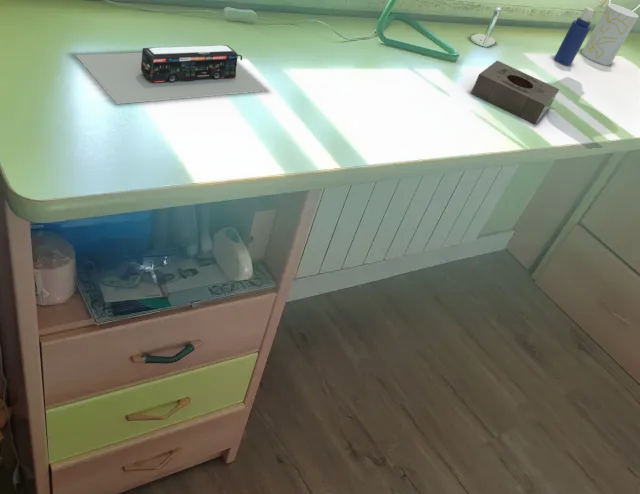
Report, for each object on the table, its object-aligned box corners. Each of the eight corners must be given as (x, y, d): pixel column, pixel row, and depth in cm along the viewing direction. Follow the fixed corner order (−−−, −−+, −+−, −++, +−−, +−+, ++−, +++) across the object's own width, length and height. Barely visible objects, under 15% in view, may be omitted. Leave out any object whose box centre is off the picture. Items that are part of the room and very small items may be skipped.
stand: (467, 39, 143) (480, 34, 149) (485, 48, 142) (497, 42, 147) (481, 5, 138) (493, 1, 144) (500, 14, 137) (512, 10, 142)
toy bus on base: (265, 91, 98) (270, 65, 95) (117, 103, 84) (117, 74, 81) (220, 49, 105) (223, 24, 102) (75, 55, 91) (74, 26, 88)
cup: (577, 52, 159) (602, 4, 150) (588, 49, 164) (614, 2, 156) (604, 66, 156) (632, 18, 148) (615, 62, 161) (642, 16, 153)
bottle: (572, 63, 151) (600, 11, 142) (568, 67, 148) (597, 14, 139) (556, 55, 152) (583, 3, 143) (552, 59, 149) (579, 6, 140)
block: (549, 107, 125) (559, 89, 122) (535, 124, 117) (545, 105, 114) (488, 78, 128) (497, 60, 125) (470, 93, 120) (479, 73, 117)
